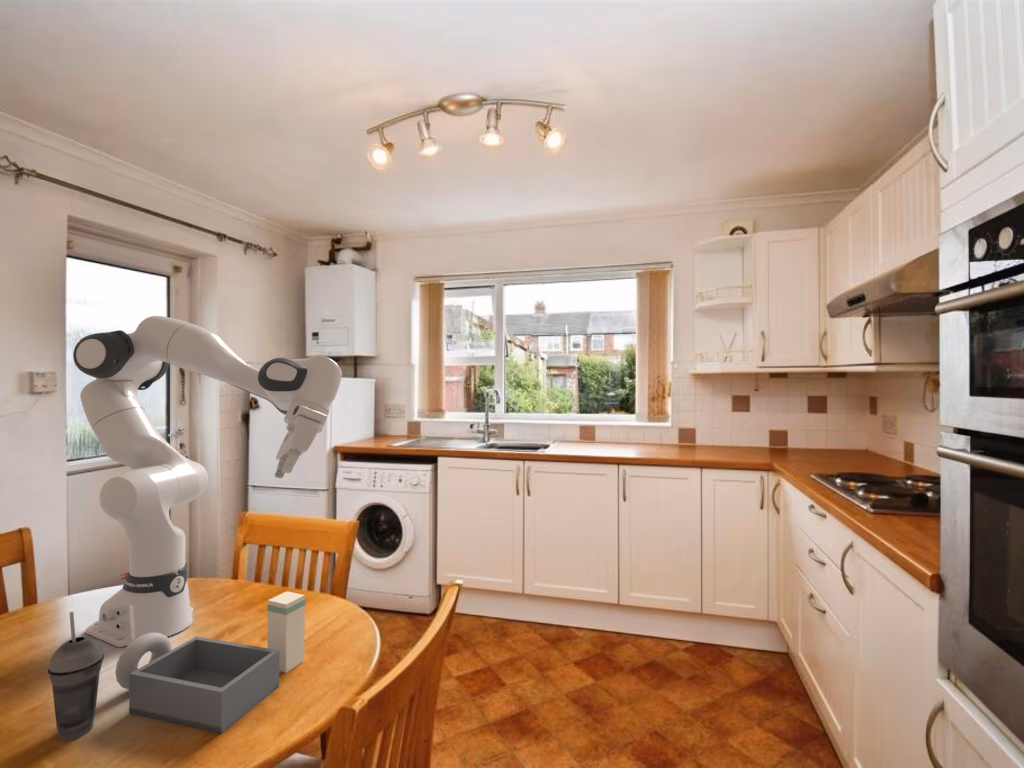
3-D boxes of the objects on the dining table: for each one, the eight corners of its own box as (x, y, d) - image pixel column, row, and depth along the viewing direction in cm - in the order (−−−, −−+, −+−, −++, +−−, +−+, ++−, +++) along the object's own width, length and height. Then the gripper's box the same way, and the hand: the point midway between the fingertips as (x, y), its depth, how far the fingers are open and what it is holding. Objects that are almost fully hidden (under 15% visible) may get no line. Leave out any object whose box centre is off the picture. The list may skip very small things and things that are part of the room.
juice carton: (266, 667, 106) (267, 600, 106) (286, 655, 111) (286, 591, 111) (285, 673, 104) (286, 604, 104) (304, 660, 109) (305, 594, 109)
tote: (129, 712, 91) (129, 673, 91) (196, 670, 105) (196, 636, 105) (221, 733, 86) (221, 692, 86) (279, 686, 100) (279, 650, 100)
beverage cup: (70, 749, 82) (71, 625, 82) (34, 742, 84) (36, 620, 84) (114, 720, 89) (115, 605, 89) (80, 714, 91) (81, 601, 91)
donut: (122, 703, 94) (123, 649, 94) (110, 699, 95) (111, 645, 95) (175, 674, 103) (176, 625, 103) (163, 670, 105) (164, 622, 104)
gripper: (283, 423, 128) (260, 476, 122) (301, 404, 111) (275, 464, 105) (308, 432, 130) (287, 484, 124) (329, 414, 114) (305, 474, 108)
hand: (281, 475), depth 115 cm, fingers open, 8 cm apart
